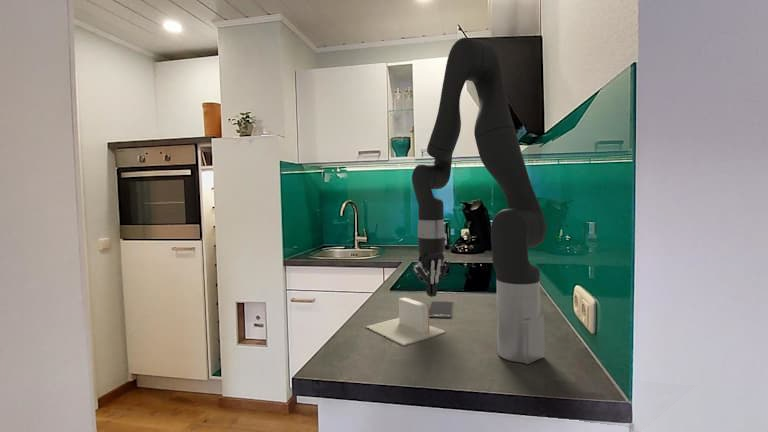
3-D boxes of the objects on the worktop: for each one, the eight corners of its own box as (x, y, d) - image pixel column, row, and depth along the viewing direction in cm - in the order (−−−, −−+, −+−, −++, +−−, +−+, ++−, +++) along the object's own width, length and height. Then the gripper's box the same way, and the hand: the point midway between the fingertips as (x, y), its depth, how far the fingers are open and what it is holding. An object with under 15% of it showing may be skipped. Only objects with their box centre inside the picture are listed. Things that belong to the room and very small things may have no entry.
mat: (445, 332, 106) (445, 331, 106) (403, 346, 98) (403, 344, 98) (405, 317, 120) (405, 315, 120) (366, 327, 112) (366, 326, 112)
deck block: (429, 330, 107) (428, 304, 106) (422, 332, 105) (421, 306, 105) (406, 321, 115) (405, 297, 114) (399, 323, 113) (398, 298, 113)
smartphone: (453, 301, 133) (451, 315, 117) (453, 304, 133) (451, 319, 117) (431, 301, 134) (426, 314, 119) (431, 304, 135) (426, 318, 119)
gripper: (422, 239, 106) (422, 303, 107) (457, 234, 113) (457, 294, 115) (404, 236, 112) (405, 297, 113) (439, 232, 119) (439, 289, 121)
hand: (431, 295), depth 114 cm, fingers closed
